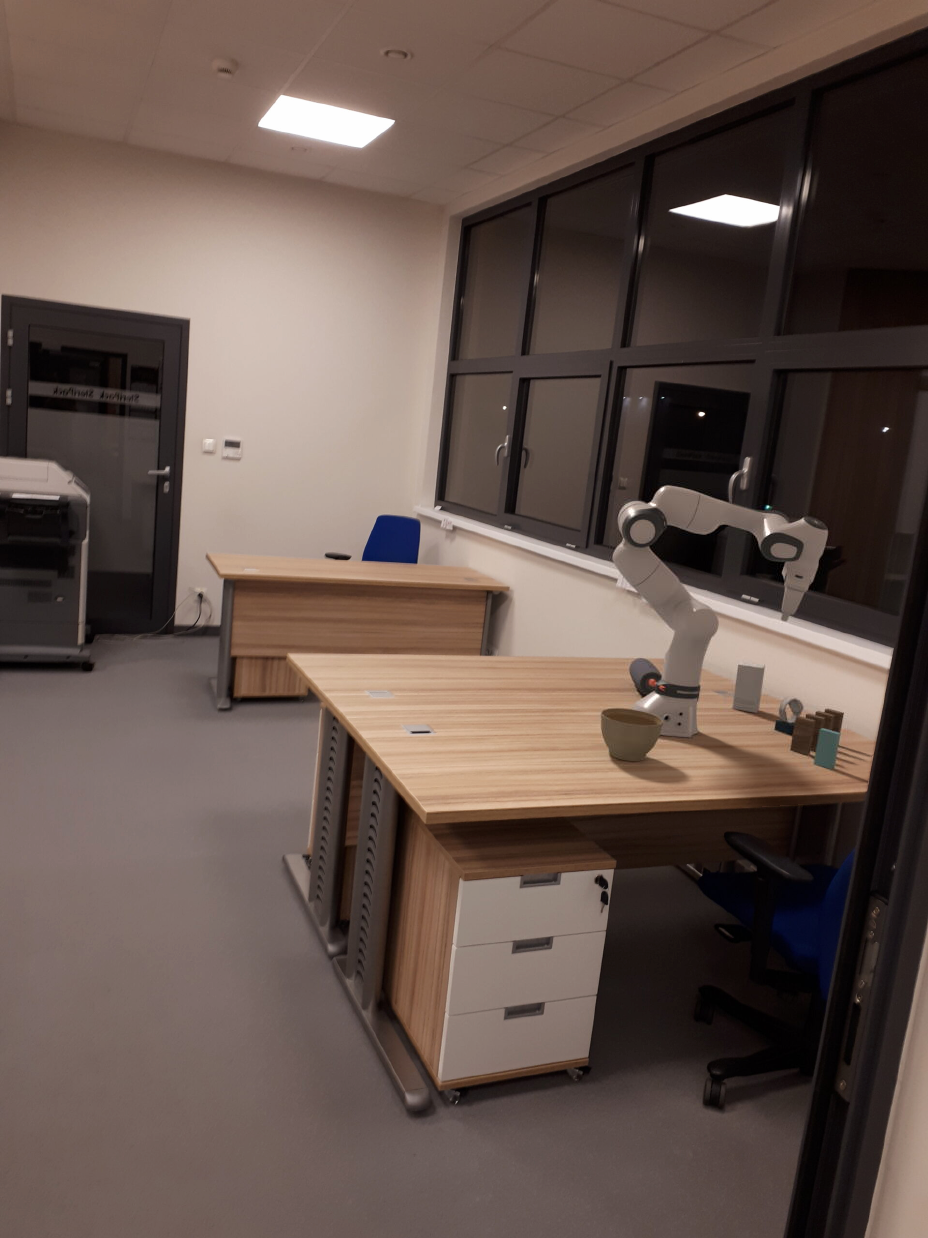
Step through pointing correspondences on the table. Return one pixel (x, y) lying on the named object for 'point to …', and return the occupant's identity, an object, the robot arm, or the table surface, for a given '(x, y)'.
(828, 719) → the walnut domino
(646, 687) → the bluetooth speaker
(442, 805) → the table surface
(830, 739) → the teal domino
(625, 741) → the planter bowl
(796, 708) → the watch
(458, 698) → the table surface
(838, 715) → the walnut domino
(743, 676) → the skincare box
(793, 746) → the walnut domino
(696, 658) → the robot arm
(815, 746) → the walnut domino
